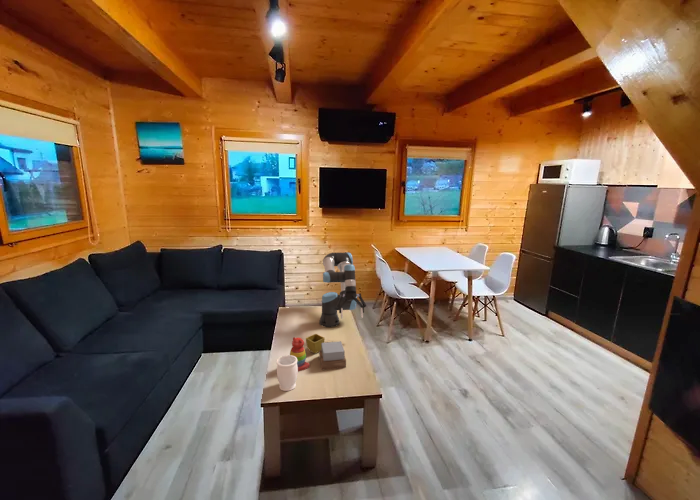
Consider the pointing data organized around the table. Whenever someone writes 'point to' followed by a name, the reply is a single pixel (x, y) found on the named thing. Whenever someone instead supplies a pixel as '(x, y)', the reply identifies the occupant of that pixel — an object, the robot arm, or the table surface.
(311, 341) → the flower pot
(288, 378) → the jar
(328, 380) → the table surface
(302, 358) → the stacking bear
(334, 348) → the grey top slab
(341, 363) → the walnut base slab
